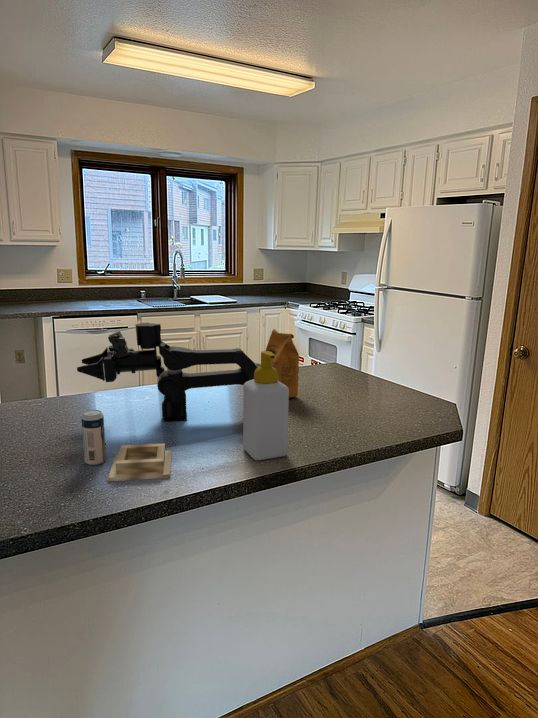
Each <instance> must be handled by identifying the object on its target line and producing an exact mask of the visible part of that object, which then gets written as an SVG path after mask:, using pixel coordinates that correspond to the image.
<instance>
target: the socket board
mask: <svg viewBox="0 0 538 718" xmlns="http://www.w3.org/2000/svg"><path fill="white" fill-rule="evenodd" d="M172 457H173V450H166V443H164V442H163V443H147V444H146V443H145V444H125V445H123V444H121V446H120V448H119V452H115V456H114V459H113V462H112V464H111V467H110V470H109V474H108V477H107V482H122V481H138V480H139V481H140V480H155V479H156V480H157V479H158V480H159V479H171V473H172V459H173V458H172Z"/></svg>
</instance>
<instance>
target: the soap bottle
mask: <svg viewBox="0 0 538 718" xmlns="http://www.w3.org/2000/svg"><path fill="white" fill-rule="evenodd" d="M272 359H275V355H274V354H273V353H272V352H270V351H266V350H264V351H260V364H261V366H259V367H258V368H257V369H256V370H255V372H254V379H253V380H250V381H247V382H246V383H244V385H242V387H243V388H242V389H243V394H242V395H243V397H242V398H243V402H242V403H243V405H242V406H243V408H242V409H243V410H242V411H243V414H242V415H243V416H242V417H243V419H242V422H243V423H242V426H243V427H242V428H243V429H242V431H243V432H242V436H243V437H242V438H243V439H242V448H243V450H244V451H245V452H246V453H247V454H248V455H250V458H252V459H253V460H254V461H264V460H269V459H270V460H271V459H277V458H283V457H285V456H287V455H288V437H289V436H288V435H289V433H288V432H289V404H290V403H289V399H290V398H289V389H288V387H287V386H286V385H284V384H282V383H281V382H279V381H278V372H277V370H276V369H275V368H274V367H272Z"/></svg>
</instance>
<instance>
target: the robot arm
mask: <svg viewBox="0 0 538 718" xmlns="http://www.w3.org/2000/svg"><path fill="white" fill-rule="evenodd" d="M161 327H162V326H161V323H154V322H153V323H150V322H140V323H136V324H135V334H136V335H135V336H136V344H137V346H140V349H142V350H135V349H134V348H129V346H128V344H127V341H126V339H125V337H124V335H123V334H122V332H121V330H118V331H116V332H113V333H112V334H109V335H108V337H107V339H108V341H109V343H110V344H111V345H109V346H108V347H105V349H104V350H103V351H102V352H101V353H99V354H96V355H92V356H88V357H85V358H82V360H81V364H84V365H80V366H78V367H76V370H77V372H78V373H82V374H84V375H88V376H90V377H93V378H96V379H99V380H102V381H103V382H105V383H113V382H115V381H116V379H118V375H121V373H129V372H131V374H136V372H144V371H154V370H155V374H156V379H157V380H156V381H157V382H156V384H157V386H156V387H157V389H158V392H159V393H160V394H162V395H163V400H162V402H161V411H162V412H161V414H162V415H161V417H162V418H163V421H164V422H175V421H187V420H188V415H187V414H188V413H187V393H186V391H187V390H190V389H200V388H201V389H202V388H213V387H223V386H234V385H235V386H236V385H240V386H244V383H246V382H247V381H250V380H253V379H254V372H255V370H256V369H257V368H258V367H259V366H261V363H258V362H257V363H255V362H254V361H253V360H252V359H251V358H250V357H249V356H248V355H247V354H246V353H245V352H244V350H242V349H241V348H239V347H238V348H237V347H236V348H230V349H229V348H227V349H225V348H224V349H222V348H221V349H200V350H199V349H198V350H196V349H191V348H187V347H181V346H180V347H179V346H176V345H175V346H170V345H168V343H165V342H164V341H162V337H161V335H162V334H161V331H162V328H161ZM157 347H158V352H159V355H158V354H157V353H158V352H157ZM162 358H163V359H162ZM162 360H163V364H164V366H165V367H166V370H165V367H163V366H162ZM230 364H232V365H233V364H235V365H237V366H239V368H236V369H230V370H229V369H227V370H217V371H206V372H194V373H193V372H192V373H188V372H183V369H188V368H191V367H194V366H200V365H201V366H202V365H230Z"/></svg>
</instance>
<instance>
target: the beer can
mask: <svg viewBox="0 0 538 718" xmlns="http://www.w3.org/2000/svg"><path fill="white" fill-rule="evenodd" d="M104 418H105V417H104V413H103V411H102V410H99V409H90V410H89V409H88V410H86V411H83V414H82V416H81V428H82V429H81V430H82V432H81V433H82V443H83V445H82V446H83V456H84V457H83V459H84V460H83V461H84V463H85V464H87V465H90V466H98V465H101V464H103V463H104V462H105V461H106V460H107V450H106V434H105V431H106V430H105V419H104Z"/></svg>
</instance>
